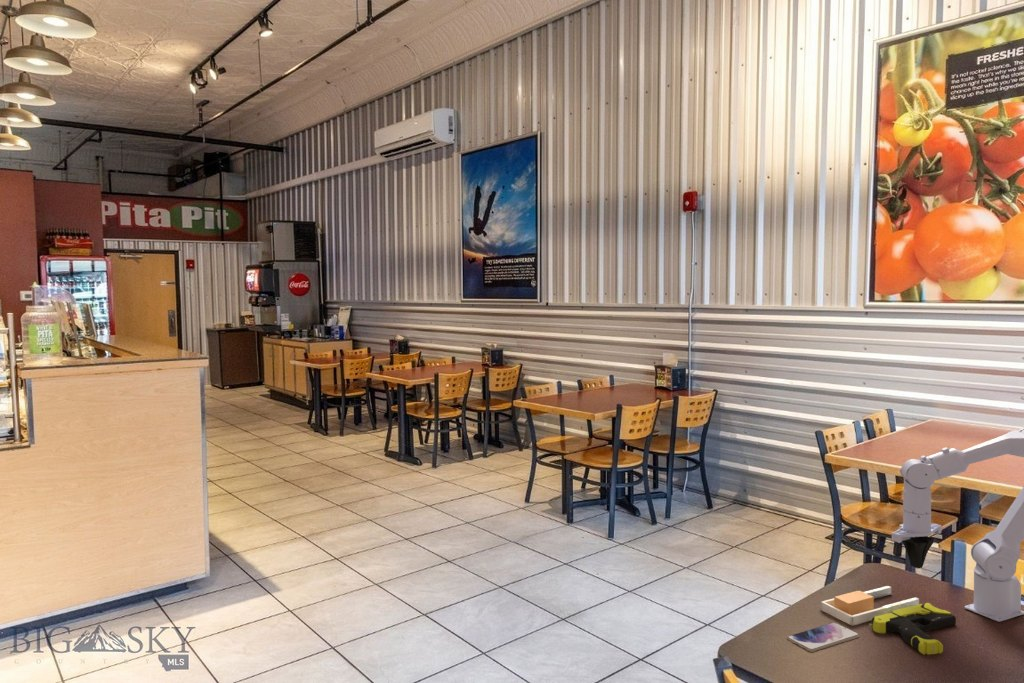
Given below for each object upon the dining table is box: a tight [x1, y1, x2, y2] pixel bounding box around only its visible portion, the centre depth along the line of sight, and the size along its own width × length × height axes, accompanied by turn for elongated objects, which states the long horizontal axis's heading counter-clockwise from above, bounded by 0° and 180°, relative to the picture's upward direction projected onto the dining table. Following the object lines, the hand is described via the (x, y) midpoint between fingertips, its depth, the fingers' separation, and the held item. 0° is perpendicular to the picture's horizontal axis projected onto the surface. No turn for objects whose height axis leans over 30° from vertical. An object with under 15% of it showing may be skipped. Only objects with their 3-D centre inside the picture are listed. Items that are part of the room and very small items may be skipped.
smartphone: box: [786, 622, 860, 653], centre depth 149 cm, size 7×1×15 cm
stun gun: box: [868, 602, 957, 656], centre depth 150 cm, size 3×19×15 cm
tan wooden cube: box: [833, 593, 861, 615], centre depth 159 cm, size 4×4×4 cm
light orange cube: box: [846, 590, 875, 613], centre depth 161 cm, size 4×4×4 cm
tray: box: [820, 597, 886, 626], centre depth 160 cm, size 11×9×2 cm
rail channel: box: [863, 585, 920, 614], centre depth 164 cm, size 11×8×2 cm
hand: (916, 566), depth 162 cm, fingers closed
